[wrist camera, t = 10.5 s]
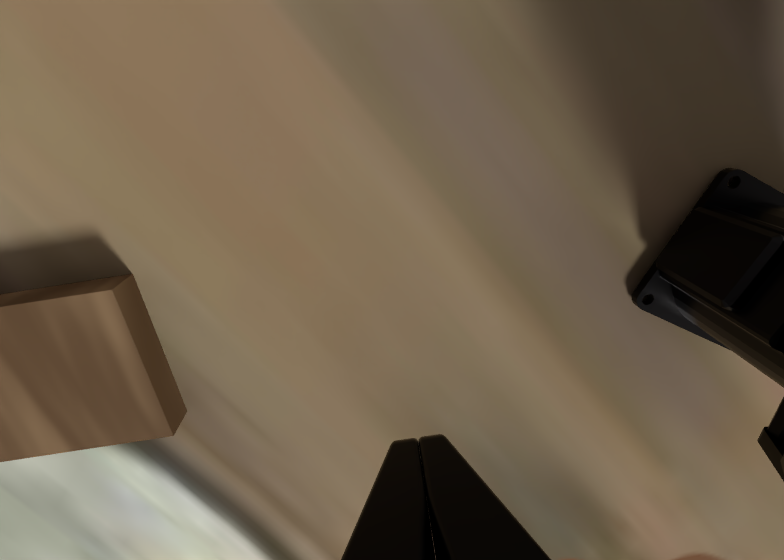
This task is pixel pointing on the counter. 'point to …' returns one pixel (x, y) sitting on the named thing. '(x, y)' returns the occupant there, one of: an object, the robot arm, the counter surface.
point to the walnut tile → (82, 370)
